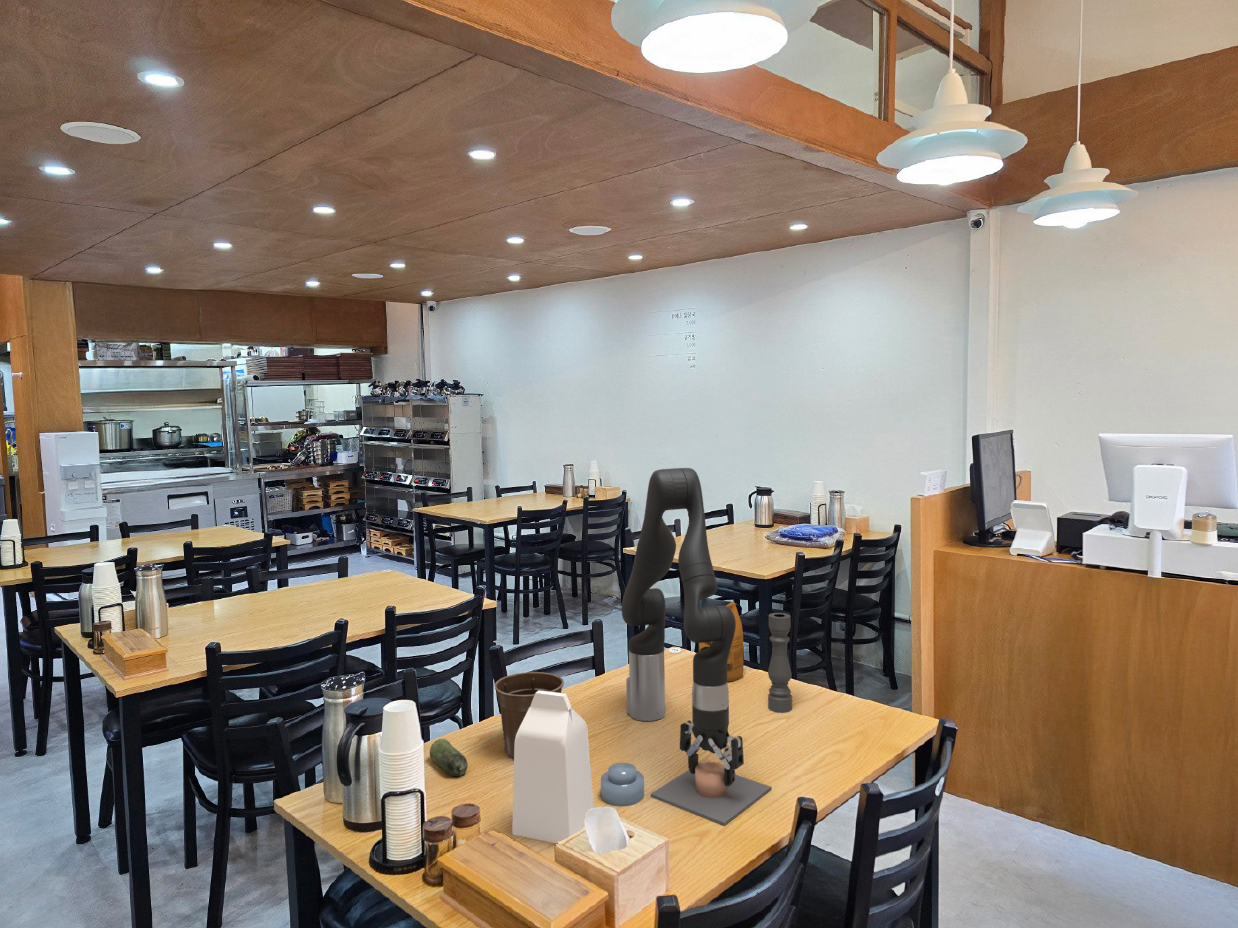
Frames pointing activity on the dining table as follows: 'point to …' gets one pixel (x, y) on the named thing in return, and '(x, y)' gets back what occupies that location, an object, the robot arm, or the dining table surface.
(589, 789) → the milk
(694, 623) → the robot arm
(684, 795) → the mat
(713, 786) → the lid
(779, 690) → the candle holder
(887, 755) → the dining table surface
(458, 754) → the vegetable
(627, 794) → the sugar pot
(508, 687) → the plant pot
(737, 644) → the coffee package
